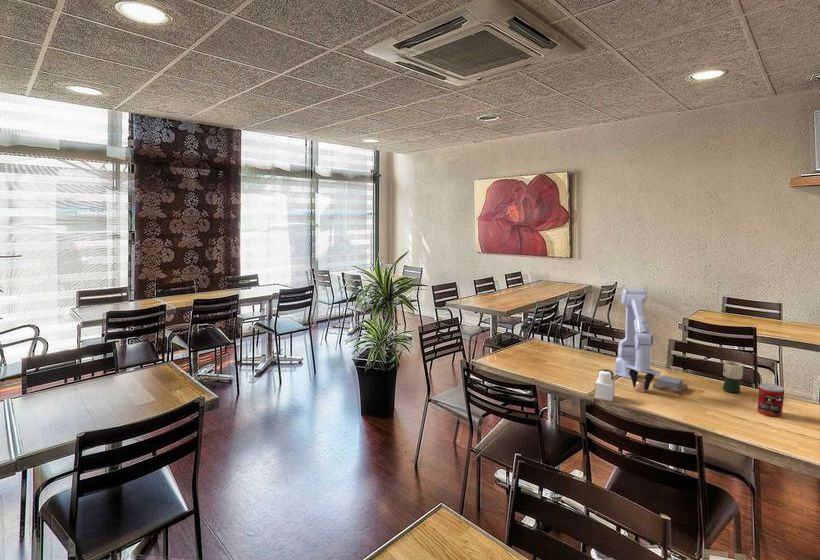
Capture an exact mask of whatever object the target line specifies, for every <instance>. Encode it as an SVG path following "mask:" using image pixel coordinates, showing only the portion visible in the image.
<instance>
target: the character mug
mask: <svg viewBox="0 0 820 560" xmlns="http://www.w3.org/2000/svg"><path fill="white" fill-rule="evenodd" d="M722 369H723V371H722V375H723V376H724V377H725V378H724V381H723V385H722V386H723V387H722V390H723V391H725V392H729V393H741V382H740V380H741V379H743V377H744V376H743V373H744V364H743V363H741V362H736V361H732V360H729V361H728V360H726V361H724V362H723V368H722Z"/></svg>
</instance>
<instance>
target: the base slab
mask: <svg viewBox="0 0 820 560" xmlns="http://www.w3.org/2000/svg"><path fill="white" fill-rule="evenodd" d="M688 387H689V386H688V384H685V383H683V384H682V385H681V386H680V387H679V388H678V389H674V388H670V387H666V386H662V385H658V380H657V381H656V382H655V383H653V384H652V389H654V390H658V391H662V392H666V393H670V394H673V393H674V395H677V394H678V396H680V395H681V394H682V392H683V393H684V392H686V390H688Z"/></svg>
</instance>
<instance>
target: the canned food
mask: <svg viewBox="0 0 820 560" xmlns="http://www.w3.org/2000/svg"><path fill="white" fill-rule="evenodd" d="M757 396H758V397H757V405H756V406H757V408H756V409H757V413H759V414H761V415H762V416H766V417H770V418H780V417H781V416H782V415H783V407H784V398H785V388H784V387H782V386H780V385H778V384H773V383H760V384H759V385H758V394H757Z"/></svg>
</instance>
